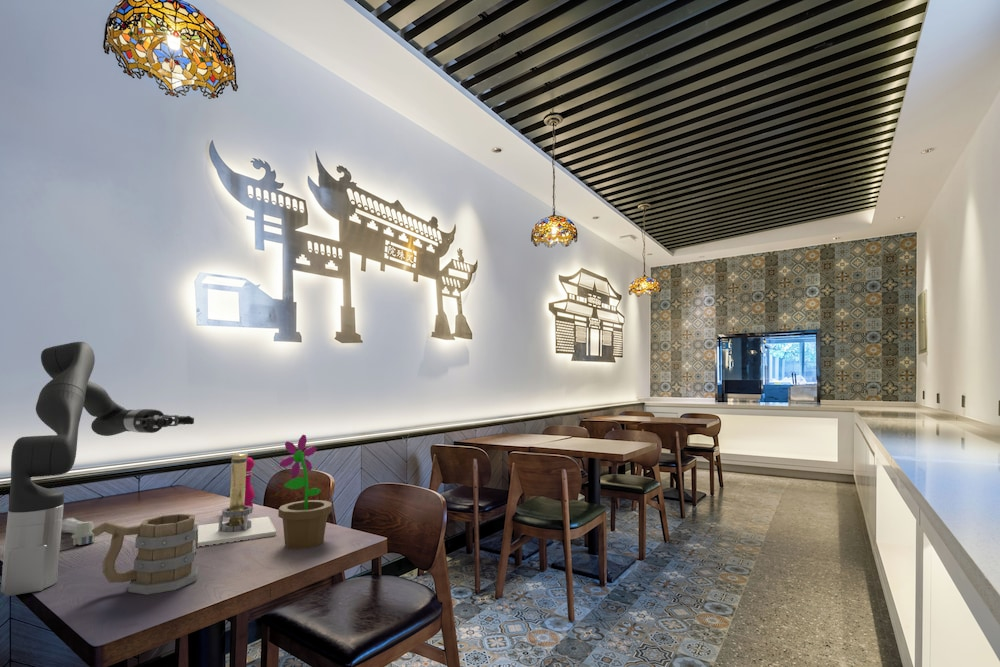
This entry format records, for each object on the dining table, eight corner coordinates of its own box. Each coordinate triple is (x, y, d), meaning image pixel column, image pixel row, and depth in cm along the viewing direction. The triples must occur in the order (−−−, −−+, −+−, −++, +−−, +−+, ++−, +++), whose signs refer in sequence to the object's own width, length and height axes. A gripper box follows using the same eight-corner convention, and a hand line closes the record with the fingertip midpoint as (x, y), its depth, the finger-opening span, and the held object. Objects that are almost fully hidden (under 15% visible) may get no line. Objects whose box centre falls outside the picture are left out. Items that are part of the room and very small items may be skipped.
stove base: (276, 535, 147) (277, 511, 148) (197, 547, 137) (199, 521, 138) (268, 520, 164) (269, 498, 165) (197, 529, 154) (199, 506, 155)
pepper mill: (229, 511, 175) (232, 454, 177) (234, 507, 182) (237, 452, 184) (251, 510, 177) (254, 453, 179) (255, 505, 184) (258, 451, 186)
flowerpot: (309, 532, 150) (312, 432, 153) (342, 540, 142) (344, 434, 146) (265, 546, 138) (270, 436, 141) (299, 554, 130) (303, 439, 133)
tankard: (198, 568, 121) (202, 505, 122) (195, 587, 110) (199, 517, 111) (95, 584, 111) (100, 516, 113) (79, 606, 100) (85, 530, 102)
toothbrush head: (76, 515, 157) (99, 517, 142) (75, 538, 156) (98, 541, 141) (55, 519, 153) (76, 521, 138) (53, 542, 152) (74, 546, 137)
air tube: (244, 529, 150) (247, 455, 152) (228, 531, 148) (232, 456, 150) (243, 525, 154) (246, 453, 156) (227, 527, 151) (231, 454, 154)
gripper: (122, 410, 154) (159, 410, 149) (166, 408, 167) (201, 408, 162) (120, 434, 153) (157, 435, 148) (164, 430, 167) (200, 431, 161)
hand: (180, 421), depth 155 cm, fingers open, 8 cm apart
